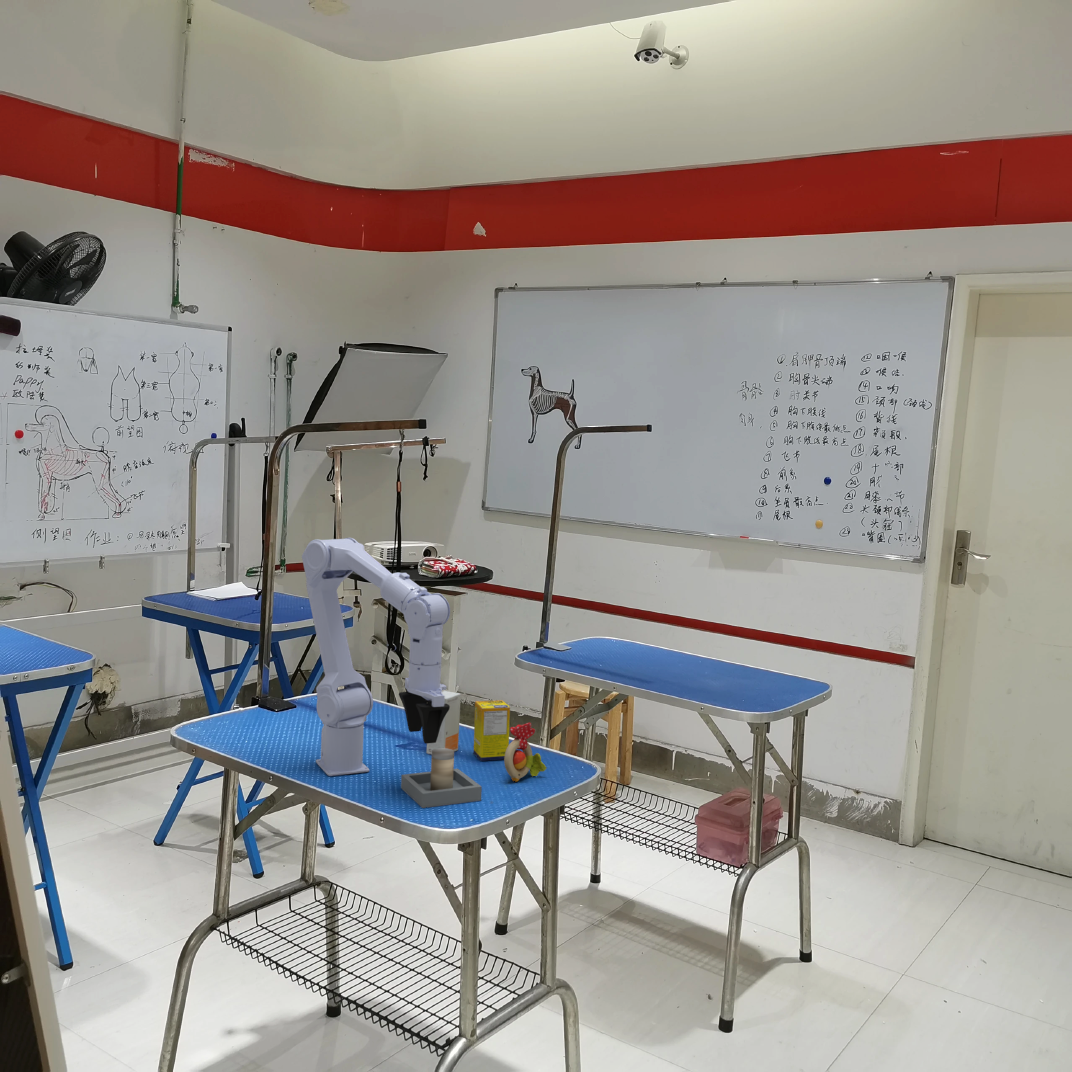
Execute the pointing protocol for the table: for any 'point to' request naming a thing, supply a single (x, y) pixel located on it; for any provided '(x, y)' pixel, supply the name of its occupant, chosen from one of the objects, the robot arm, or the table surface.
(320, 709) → the robot arm
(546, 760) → the table surface
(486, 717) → the supplement box
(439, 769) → the cylinder
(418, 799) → the tray
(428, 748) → the skincare box
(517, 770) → the bird rattle
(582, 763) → the table surface
